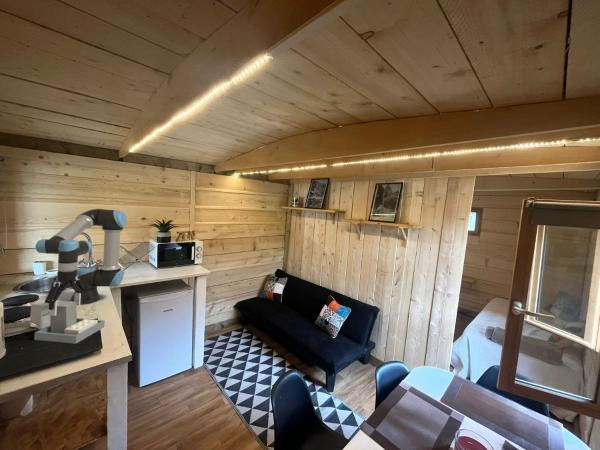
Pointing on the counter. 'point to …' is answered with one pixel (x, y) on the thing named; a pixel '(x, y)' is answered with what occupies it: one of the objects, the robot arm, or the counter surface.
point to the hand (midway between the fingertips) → (65, 309)
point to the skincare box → (63, 317)
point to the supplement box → (40, 314)
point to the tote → (67, 338)
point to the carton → (80, 326)
